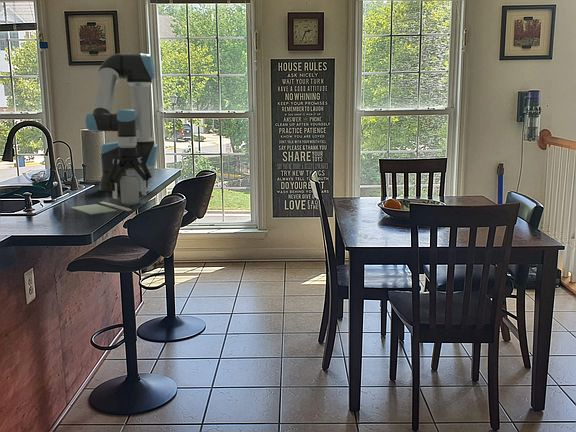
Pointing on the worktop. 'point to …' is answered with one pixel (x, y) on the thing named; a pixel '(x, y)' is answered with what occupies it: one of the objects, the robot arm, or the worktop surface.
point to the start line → (116, 206)
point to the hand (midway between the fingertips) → (129, 196)
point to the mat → (93, 209)
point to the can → (129, 190)
